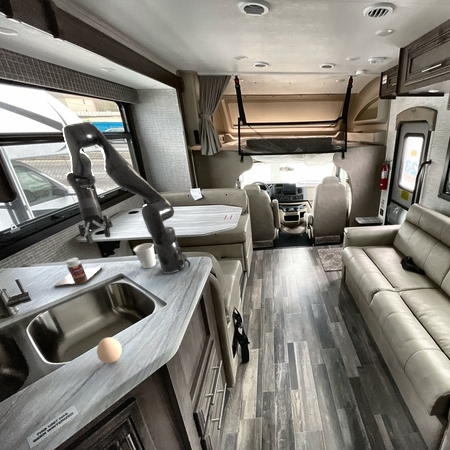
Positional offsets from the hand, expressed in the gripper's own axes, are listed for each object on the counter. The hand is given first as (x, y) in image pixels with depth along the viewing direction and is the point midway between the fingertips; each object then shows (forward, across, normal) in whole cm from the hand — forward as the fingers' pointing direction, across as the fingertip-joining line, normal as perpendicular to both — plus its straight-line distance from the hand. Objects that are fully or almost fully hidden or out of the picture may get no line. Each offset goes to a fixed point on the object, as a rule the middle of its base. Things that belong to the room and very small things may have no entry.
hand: (99, 240), depth 116 cm
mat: (+15, -10, -4) cm, 18 cm away
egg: (+50, +27, -42) cm, 71 cm away
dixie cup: (+20, +16, +4) cm, 26 cm away
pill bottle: (+14, -10, -4) cm, 18 cm away
